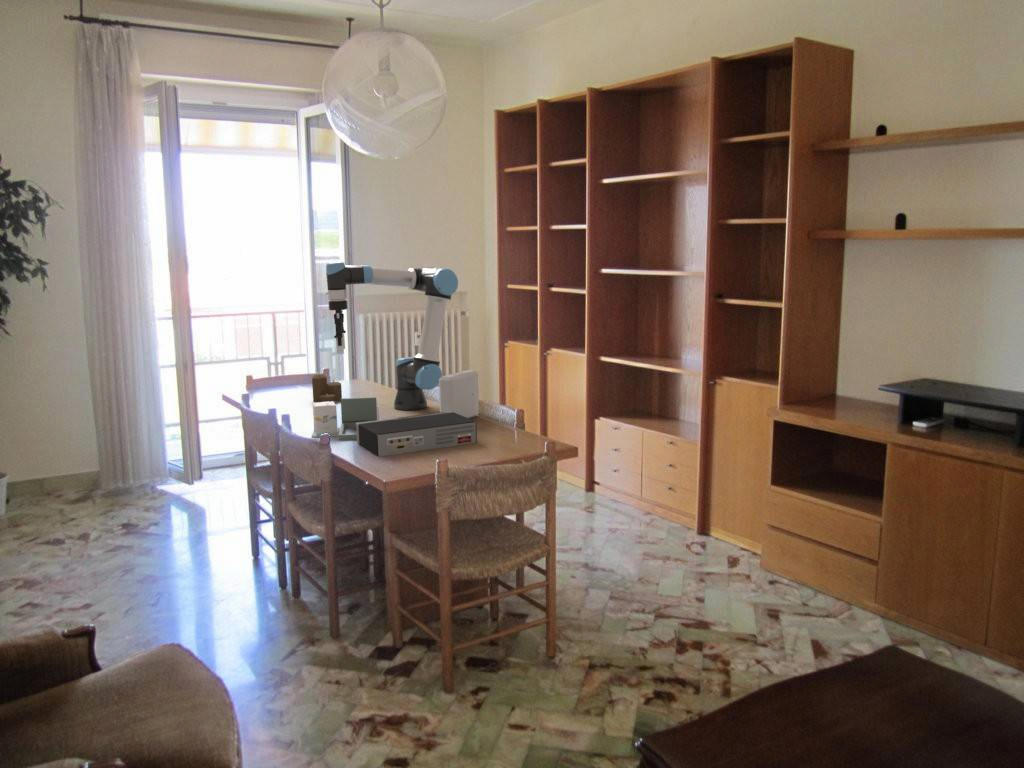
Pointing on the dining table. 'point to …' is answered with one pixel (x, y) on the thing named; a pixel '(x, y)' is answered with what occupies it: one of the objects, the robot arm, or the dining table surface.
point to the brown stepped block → (325, 389)
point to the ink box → (325, 418)
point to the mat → (329, 434)
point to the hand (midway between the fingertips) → (341, 351)
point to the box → (415, 433)
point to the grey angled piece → (357, 414)
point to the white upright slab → (460, 393)
